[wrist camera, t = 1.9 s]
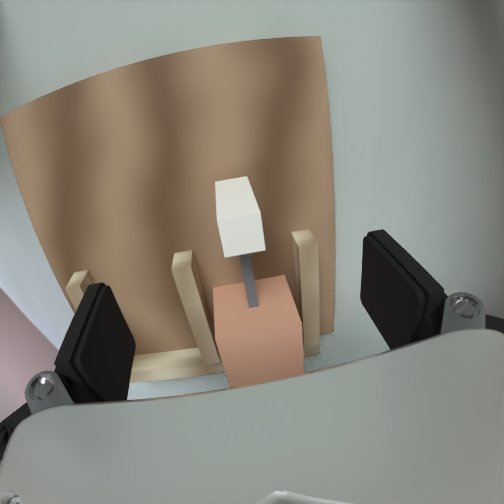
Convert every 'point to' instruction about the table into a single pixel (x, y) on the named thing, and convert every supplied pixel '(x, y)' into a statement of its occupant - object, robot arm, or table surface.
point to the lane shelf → (183, 189)
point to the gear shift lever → (252, 299)
